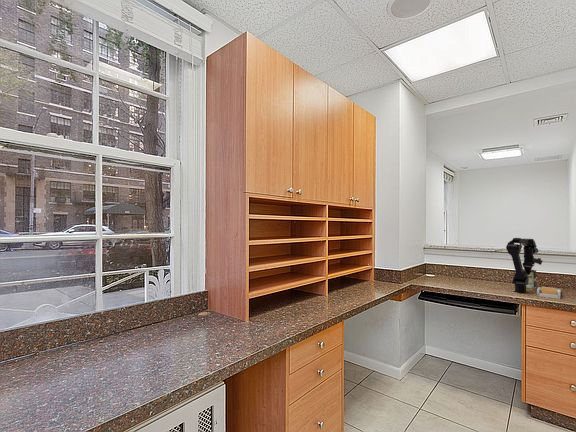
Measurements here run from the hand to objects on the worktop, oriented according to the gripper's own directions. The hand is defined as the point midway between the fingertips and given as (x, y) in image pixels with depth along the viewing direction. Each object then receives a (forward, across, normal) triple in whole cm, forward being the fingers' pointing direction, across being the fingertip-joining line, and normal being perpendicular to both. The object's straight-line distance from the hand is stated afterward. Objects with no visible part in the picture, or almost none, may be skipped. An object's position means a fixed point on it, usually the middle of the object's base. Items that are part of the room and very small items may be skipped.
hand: (528, 274), depth 240 cm
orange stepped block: (+13, -15, -12) cm, 23 cm away
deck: (+12, -7, -12) cm, 19 cm away
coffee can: (+13, +17, +2) cm, 21 cm away
